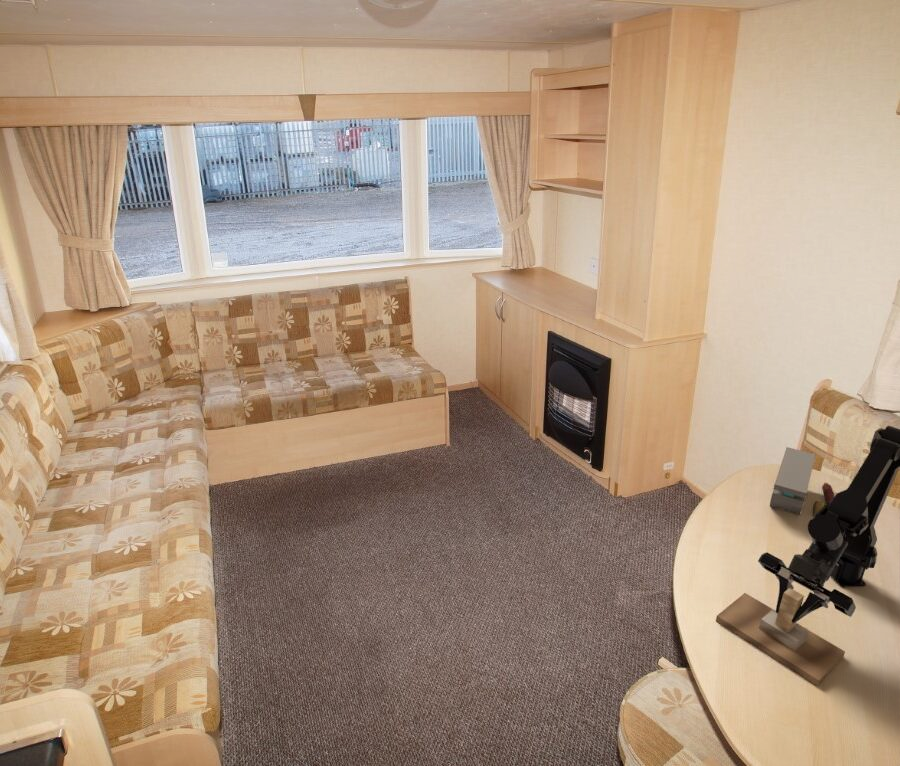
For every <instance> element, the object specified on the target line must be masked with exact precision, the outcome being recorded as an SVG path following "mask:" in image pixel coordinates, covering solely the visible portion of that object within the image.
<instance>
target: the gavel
mask: <svg viewBox="0 0 900 766" xmlns="http://www.w3.org/2000/svg"><path fill="white" fill-rule="evenodd" d="M821 489H822V492H823V496H824V499H825V500H824V501H825V503H824V501H821V500H814V502H813V505H812V509H811V512H812V513H811V514H812V517H813V518H814V517H815V516H816V514H817V513H818V512H819V511H820V510H821V509H822V508H823V507H824V506H825V505H826V504H827V503H828V502H829V501H830V502H831V501H832V500H833V498H834V497H835V493H834V491H833V487H832V485H831V484H829V483H828V482H827V481H825V482H824V483H823V484H822V486H821Z"/></svg>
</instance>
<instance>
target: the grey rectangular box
mask: <svg viewBox="0 0 900 766" xmlns="http://www.w3.org/2000/svg"><path fill="white" fill-rule="evenodd" d="M815 459H816V454H815V453H811V452H808V451H804V450H799V449H795V448H792V447H788V446H786V449H785V451H784V454H783V458H782V460H781V463H780V466H779V470H778V472H777V476H776V479H775V482H774V485H773V490H772V493H771V497H770V502H769V506H770V507H772V508H775V509H779V510H781V511H782V510H783V511H785V512H789V513H791V514H792V513H793V514H796V515H798V516H801V513H802V510H803V507H804V504H805V501H806V500H805V499H806V497H807V493H808V489H809V484H810V481H811V476H812V473H813V472H812V471H813V468H814V464H815Z"/></svg>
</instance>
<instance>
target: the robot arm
mask: <svg viewBox="0 0 900 766" xmlns="http://www.w3.org/2000/svg"><path fill="white" fill-rule="evenodd" d="M869 446H870V448H869V453H868V454H867V456H866V458H865V460H864V461H863V463H862V464H861V466H860V468H859V469H858V471H857V473H855V475H854V478H853V479H852V481H851V483H850V484H849V485H848V487H847V488H846V489H844V490H842V491H839V492H837V493H836V494H834V498H833V500H832V501H831V502H830V501H829V502H828V503H827V504H826V503H825V504H826V505H825V506H824V507H823V508H822V509H821V510H820V511H819V512H818V513H817V514H816V516H815V517H814V516H813V517H812V518H811V519H810V520H809V521H808V524H807V532H808V534H809V537H810V538H811V543H810V545H809V547H808V548H806V549H805V550H804V552H803V553H802V554H799V553H798V554H793V557H792V559H791V561H790V563H789V566H788V567H787V565H786V564H785V563H784V561H783V559H780V558H779V557H777V556H775V555H774V554H771V553H769V552H763V553H762V554H761V555H760V556H759V559H758V560H757V562H758V563H759V565H760V566H761V567H762V568H763V569H764V570H765V571H768V572H769V573H771V574H773V575H774V576H775V578H776V579H777V580H778V583H779V586H778V587H779V588H778V589H779V590H778V596H777V601H776V608H775V611H776V613H777V614H778V612H779V608H780V604H781V601H782V597H783V594H784V592H785V591H786V590H788V589H789V588H791V589H793V590H794V589H795V587H794V586H793V584H792V583H797V584H798V585H800V586H802V587H804V588H805V589H807V590H809V593H808V594H807V597H806V599H805V600H804V602H802V605H801V607H800V608H799V610H798V611H797V612H796V614H795V615H794V617H793V619H792V621H791V622H792V623H795V622H796V623H797V622H798V621H799V620H802V619H803V618H804V617H805V616H807V615H809V614H811V613H813V612H814V611H817V610H818V609H820V608H822V607H823V608H825V609H829V604H830V602H831V603H832V604H833V606H834V609H835V610H837V611H839V612H841V613H842V614H844V615H845V616H848V617H850V618H851V617H852V616H853V615H854V613H855V611H856V608H857V607H856V604H855V602H854V600H853V598H852V597H851V596H849V595H847V594H845V593H844V592H841V591H839V590H838V589H836V588H834V589H832V591H831V590H829V589H827V588H825V587H824V586H825V583H826V582H828V581H829V579H831V578H832V579H833V580H834V581H835V582H836V583H837V585H838V586H840V587H843V588H844V587H865V586H866V585H867V582H865V581H864V580H863V577H864V576H865V575H864V574H865V571H867V570H868V569H874V568H875V566H876V563H877V557H878V551H877V548H876V547H875V546H876V543H877V542H878V538H877V537H878V536H877V534H876V529H875V525H876V522H877V520H878V518H879V515H880V513H881V511H882V509H883V506H884V504H885V503H886V500H887V497H888V495H889V493H890V491H891V488H892V486H893V483H894V481H895V479H896V477H897V474H898V472H899V470H900V428H898V427H896V426H895V427H894V426H892V425H887V426H886V427H885V428H883V427H880V428H878V429H876V430H875V431H874V433H873V437H872V439H871V442H870V445H869Z"/></svg>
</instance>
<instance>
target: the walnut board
mask: <svg viewBox="0 0 900 766" xmlns="http://www.w3.org/2000/svg"><path fill="white" fill-rule="evenodd" d="M772 610H773V611H774V612H776V609H773V608H772V607H770V606H768V605H766V604H765V603H763V602H761V601H759V600H758V599H756V598H754V597H753V596H751V595H749V594H748V593H746V592H744V593H743V594H742V595H740V596H739V597H738V598H737V599H735V600H734V601H733V602H731V604H730V605H728V606H727V607H725V608H724V609H723V610H722V611H721V612H720V613H718V614H716V617H715V622H717V623H718V624H720V625H721V626H723V627H724V628H725V629H727V630H729V631H731V632H732V633H734V634H735V635H737V636H739V638H741V639H743V640H745V641H746V642H748V643H750V644H751V645H752V646H754V647H756V648H757V649H759V650H761V651H762V652H764V653H765V654H766V655H768V656H770V657H771V658H773V660H774V659H775V660H776V661H778V662H779V663H781V664H782V665H783V666H785V667H786V668H789V669H790V670H792V672H795V673H796V674H798V675H799V676H801V677H802V678H804V679H805V680H808V682H810V683H812V685H813V684H814V685H815V686H816V687H817V686H819V685H820V684H821V683H822V681H823V680H824V679H826V677H827V676H828V674H830V672H832V671H833V669H834V668H835V667H836V666H837V665H838V663H839V662H840V661H841V660H842V659H843V658H844V656H845V653H846V650H843V649H841V647H838V646H837V645H835V644H834V643H831V642H830V641H828V640H827V639H825V638H822V637H821V636H820V635H818V634H816V633H814V632H812V631H810V630H809V629H808V628H805V626H803V625H801V624H799V623H797V622H796V625H797V626H799V627H801V628H802V629H804V630H806V631H807V632H809V633H808V637H807V640H806V642H805V643H804V644H803V645H802V646H800V647H799V648H798V649H797V650H796V651H794V650H793V649H791V648H789V647H788V646H786V645H785V644H783V643H782V642H780V641H778V640H777V639H775V638H774V637H772V636H771V635H769V634H767V633H766V632H764V631H763V630H761V629H760V628H759V625H760V621H761V619H762V618H763V617H764V616H765V615H767V614H768V613H769V612H770V611H772Z"/></svg>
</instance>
